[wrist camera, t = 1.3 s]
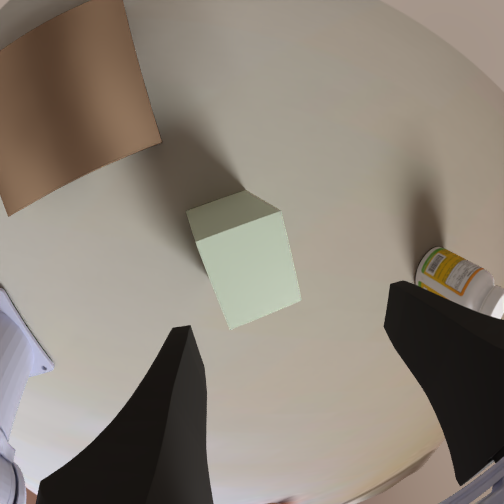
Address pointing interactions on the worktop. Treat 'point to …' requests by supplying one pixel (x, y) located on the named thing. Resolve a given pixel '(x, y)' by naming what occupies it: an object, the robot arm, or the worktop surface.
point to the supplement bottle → (460, 282)
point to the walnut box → (70, 102)
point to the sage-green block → (245, 256)
